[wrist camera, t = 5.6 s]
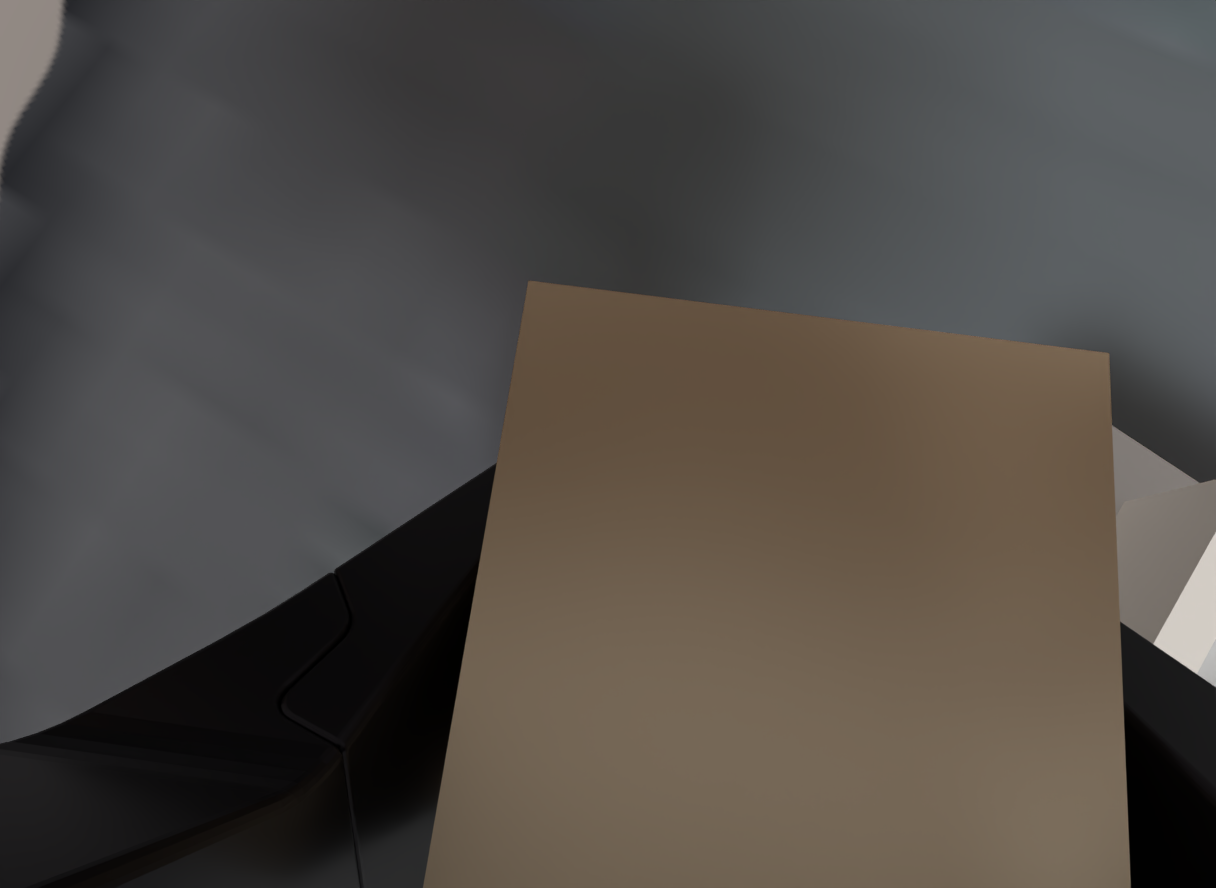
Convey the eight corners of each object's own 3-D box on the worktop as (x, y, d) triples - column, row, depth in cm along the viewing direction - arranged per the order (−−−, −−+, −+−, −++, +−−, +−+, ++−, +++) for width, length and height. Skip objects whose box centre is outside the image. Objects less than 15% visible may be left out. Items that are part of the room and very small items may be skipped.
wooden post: (761, 752, 15) (1145, 1045, 4) (542, 721, 15) (407, 936, 5) (778, 532, 16) (1115, 347, 6) (573, 505, 16) (522, 273, 6)
